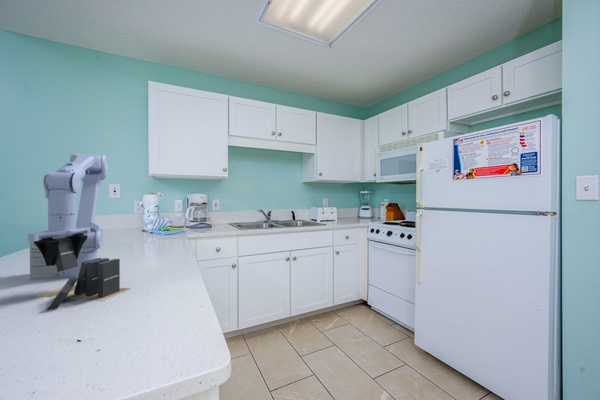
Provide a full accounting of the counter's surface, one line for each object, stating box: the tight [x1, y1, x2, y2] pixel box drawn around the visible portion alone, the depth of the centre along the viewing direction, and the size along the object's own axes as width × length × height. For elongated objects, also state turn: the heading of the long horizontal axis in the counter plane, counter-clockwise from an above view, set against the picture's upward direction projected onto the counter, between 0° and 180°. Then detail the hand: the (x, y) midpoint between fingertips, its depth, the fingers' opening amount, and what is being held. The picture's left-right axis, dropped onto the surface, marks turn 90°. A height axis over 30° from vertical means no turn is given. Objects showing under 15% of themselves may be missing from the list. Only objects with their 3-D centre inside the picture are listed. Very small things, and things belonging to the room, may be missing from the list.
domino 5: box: [98, 258, 121, 298], centre depth 68 cm, size 2×5×9 cm, turn 171°
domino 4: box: [86, 257, 110, 297], centre depth 69 cm, size 2×5×9 cm, turn 172°
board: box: [34, 284, 132, 302], centre depth 69 cm, size 21×9×1 cm, turn 81°
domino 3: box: [74, 257, 103, 296], centre depth 69 cm, size 2×5×9 cm, turn 172°
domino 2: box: [46, 276, 78, 311], centre depth 63 cm, size 2×5×9 cm
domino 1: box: [55, 237, 78, 272], centre depth 70 cm, size 2×5×9 cm, turn 8°
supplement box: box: [29, 234, 64, 280], centre depth 88 cm, size 9×9×15 cm
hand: (62, 262), depth 70 cm, fingers closed on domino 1, 5 cm apart
